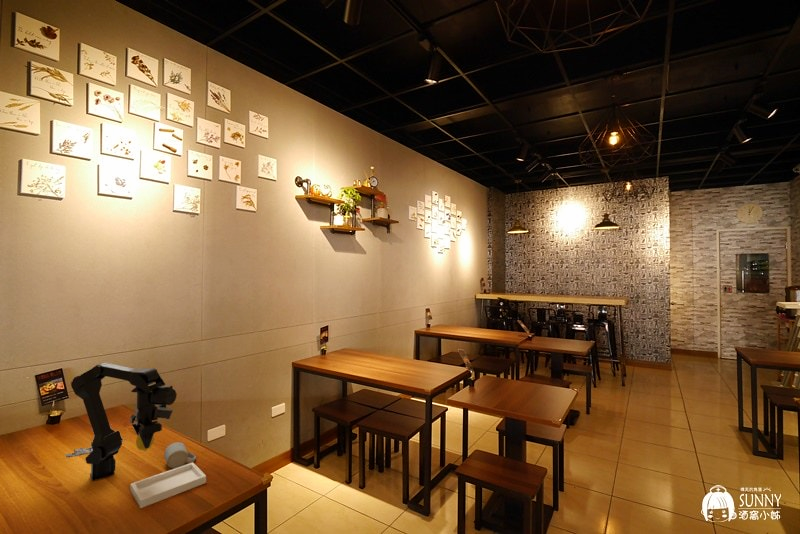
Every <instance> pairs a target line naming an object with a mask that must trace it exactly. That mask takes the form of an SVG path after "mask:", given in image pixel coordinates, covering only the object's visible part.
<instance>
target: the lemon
mask: <svg viewBox="0 0 800 534" xmlns="http://www.w3.org/2000/svg"><path fill="white" fill-rule="evenodd" d="M154 434H155V433H154ZM154 434H153V437H152V440H151V443H150V446H149V448H145V447H144V444H143V442H142V440H141V438H140V435H138V436H137V437H136V440H135V444H136V448H137V449H138V450H140V451H144V452H146V451H147V450H149V449H150V448H151V447H152V446H153V444H154V442H155V435H154Z"/></svg>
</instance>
